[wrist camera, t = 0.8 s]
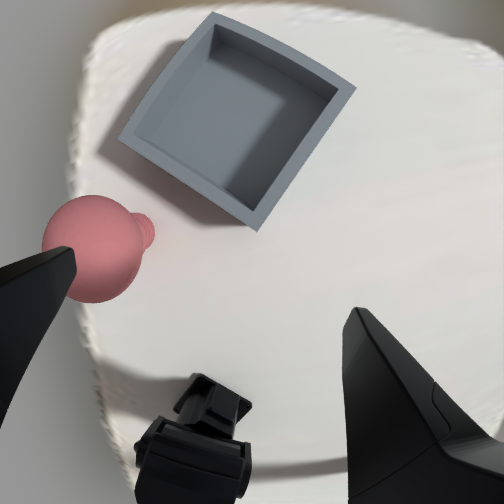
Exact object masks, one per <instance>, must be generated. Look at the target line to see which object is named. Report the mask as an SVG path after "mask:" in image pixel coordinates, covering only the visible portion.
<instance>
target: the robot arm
mask: <svg viewBox="0 0 504 504" xmlns="http://www.w3.org/2000/svg"><path fill="white" fill-rule="evenodd" d="M76 274H77V265H76V258H75V252H74V250H73V248H71V247H68V246H59V247H56V248H53V249H51V250H48V251H45V252H42V253H39V254H36V255H33V256H31V257H28V258H25V259H22V260H20V261H17V262H14V263H12V264H9V265H6V266H4V267H1V268H0V428H1V425H2V423H3V420H4V417H5V415H6V413H7V409H8V408H9V405H10V403H11V401H12V398H13V396H14V394H15V392H16V390H17V387H18V385H19V383H20V381H21V379H22V377H23V375H24V373H25V371H26V369H27V367H28V365H29V363H30V361H31V359H32V357H33V355H34V353H35V351H36V350H37V348H38V346H39V344H40V342H41V340H42V339H43V337H44V335H45V333H46V331H47V329H48V328H49V326H50V324H51V323H52V321H53V319H54V318H55V316H56V314H57V312H58V311H59V309H60V307H61V305H62V303H63V301H64V299H65V296H66V294H67V292H68V290H69V288H70V286H71V285H72V283H73V281H74V279H75V277H76ZM200 379H203V380H200ZM342 381H343V392H344V405H345V419H346V436H347V459H348V498H349V499H348V504H504V443H503V442H500V441H497V440H495V439H493V438H492V437H490V436H489V435H488V434H487V433H486V432H485V431H484V430H483V429H482V428H481V427H480V426H479V425H478V424H477V423H476V422H475V421H474V420H473V419H471V418H470V417H469V416H468V415H467V414H466V413H465V412H464V411H463V410H462V409H461V408H460V407H459V406H458V405H457V404H456V403H455V402H454V401H453V400H452V399H451V398H450V397H449V396H448V394H447V393H446V392H445V391H444V390H443V389H442V388H441V387H440V386H439V385H438V383H437V382H434V379H433V378H432V377H431V376H430V375H429V374H428V373H427V371H426V370H425V369H424V368H423V367H422V366H421V365H420V364H419V363H418V362H417V361H416V360H415V358H414V357H413V356H412V355H411V354H410V353H409V352H408V351H407V350H406V349H405V348H404V347H403V346H402V345H401V344H400V342H399V341H398V340H397V339H396V338H395V337H394V336H393V335H392V334H391V333H390V332H389V331H388V330H387V329H386V328H385V327H384V326H383V325H382V324H381V323H380V322H379V321H378V320H377V319H376V318H375V316H374V315H373V314H372V313H371V312H370V311H369V310H368V309H366V308H360V307H354V308H353V309H352V311H351V313H350V315H349V317H348V319H347V321H346V323H345V325H344V328H343V346H342ZM246 405H249V406H246ZM177 408H178V409H179V410H178V409H177ZM251 408H252V403H251V402H250V401H248V400H246V399H244V398H243V397H241V396H239V395H238V394H236V393H234V392H233V391H231V390H229V389H227V388H226V387H224V386H222V385H220V384H218V383H216V382H215V381H213V380H211V379H210V378H208V377H206V376H205V375H202V374H200V375H198V376H197V378H196V379H195V380H194V381H193V383H192V384H191V385H190V387H189V388H188V389H187V390H186V392H185V393H184V394H183V396H182V397H181V398H180V399H179V401H178V402H177V403H176V405H175V406H174V408H173V410H174V412H176V413H177V414H179V416H178V418H177V421H176V422H173V421H170V420H167V419H165V417H162V416H159V417H158V418H157V419H156V420H154V421H153V423H152V424H151V425H150V427H149V428H148V429H147V431H146V432H145V433H144V435H143V436H142V437H141V439H140V440H139V441H137V442H136V443H135V444H134V450H135V452H136V467H137V468H140V472H139V476H138V479H137V482H136V485H135V497H136V501H137V503H138V504H234V503H235V500H236V498H240V499H241V498H242V497H243V496H244V494H245V492H246V489H247V486H248V483H249V480H250V475H251V469H252V459H251V443H248V442H240V441H236V440H233V437H234V431H235V426H236V424H237V423H238V422H239V421H240V420H241V419H242V418H243V417H244V416H245V415H246V414H247V413H248V412H249V411H250V410H251Z"/></svg>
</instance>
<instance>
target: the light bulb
mask: <svg viewBox="0 0 504 504" xmlns="http://www.w3.org/2000/svg"><path fill="white" fill-rule="evenodd" d="M154 236H155V230H154V226H153V223H152V222H151V220H150V219H149V218H148V217H147V216H145V215H143V214H140V213H129V211H128V210H127V209H126V208H125V207H123V206H122V205H121V204H119V203H118V202H116V201H114V200H112V199H110V198H107V197H103V196H99V195H87V196H81V197H78V198H75V199H73V200H71V201H69V202H67V203H66V204H64V205H63V206H62V207H61V208H60V209H58V210H57V212H56V213H55V214H54V215H53V217H52V218H51V219H50V221H49V223H48V225H47V227H46V229H45V233H44V236H43V242H42V252H45V251H48V250H51V249H53V248H56V247H59V246H68V247H71V248H73V250H74V252H75V258H76V265H77V274H76V277H75V279H74V281H73V283H72V285H71V286H70V288H69V290H68V292H67V294H66V296H68V297H70V298H72V299H74V300H76V301H79V302H84V303H101V302H105V301H108V300H111V299H113V298H115V297H116V296H118V295H120V294H121V293H122V292H123V291H125V290H126V289H127V288H128V287H129V285H130V284H131V283H132V282H133V280H134V279H135V277H136V275H137V273H138V271H139V268H140V265H141V260H142V255H143V253H144V251H145V249H147V248H148V247H149V246H150V245H151V243H152V242H153V240H154Z"/></svg>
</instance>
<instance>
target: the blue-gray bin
mask: <svg viewBox="0 0 504 504" xmlns="http://www.w3.org/2000/svg"><path fill="white" fill-rule="evenodd" d="M356 88H357V87H355V86H354V85H352V84H351V83H349V82H348V81H346V80H345V79H343V78H342V77H340V76H339V75H337V74H336V73H334V72H333V71H331V70H329V69H328V68H326V67H325V66H323V65H321V64H320V63H318V62H316V61H315V60H313V59H311V58H310V57H308V56H306V55H304V54H303V53H301V52H299V51H297V50H295V49H294V48H292V47H290V46H288V45H286V44H284V43H282V42H280V41H278V40H276V39H274V38H272V37H270V36H268V35H266V34H264V33H262V32H260V31H258V30H256V29H254V28H251V27H249V26H247V25H245V24H242V23H240V22H238V21H235V20H233V19H231V18H228V17H226V16H223V15H221V14H218V13H215V12H213V11H212V12H211V14H210V15H209V16H208V17H207V18H206V19H205V20H204V21H203V22H202V23H201V24H200V26H199V27H198V28H197V29H196V30H195V31H194V32H193V34H192V35H191V36H190V37H189V38H188V39H187V41H186V42H185V43H184V44H183V45H182V47H181V48H180V49H179V50H178V52H177V53H176V54H175V55H174V57H173V58H172V59H171V60H170V62H169V63H168V64H167V66H166V67H165V68H164V70H163V71H162V72H161V74H160V75H159V76H158V78H157V79H156V80H155V82H154V83H153V85H152V86H151V87H150V89H149V90H148V92H147V93H146V95H145V96H144V98H143V99H142V100H141V102H140V103H139V105H138V106H137V108H136V110H135V111H134V113H133V114H132V116H131V117H130V119H129V121H128V122H127V124H126V125H125V127H124V129H123V130H122V132H121V134H120V135H119V137H118V139H117V140H119V141H120V142H122V143H123V144H125V145H126V146H128V147H129V148H131V149H133V150H134V151H136V152H137V153H139V154H140V155H142V156H143V157H145V158H146V159H148V160H150V161H151V162H153V163H154V164H156V165H157V166H159V167H160V168H162V169H163V170H165V171H166V172H168V173H169V174H171V175H173V176H174V177H176V178H177V179H179V180H180V181H182V182H183V183H185V184H186V185H188V186H189V187H191V188H192V189H194V190H195V191H197V192H198V193H200V194H201V195H203V196H204V197H206V198H207V199H209V200H210V201H212V202H213V203H215V204H216V205H218V206H219V207H221V208H222V209H224V210H225V211H227V212H228V213H230V214H231V215H233V216H234V217H236V218H237V219H239V220H240V221H242V222H243V223H245V224H246V225H247V226H249V227H250V228H252V229H253V230H255V231H256V232H257V231H258V230H259V228H260V227H261V226H262V224H263V223H264V221H265V220H266V218H267V217H268V215H269V214H270V212H271V211H272V210H273V208H274V207H275V205H276V204H277V202H278V201H279V199H280V198H281V196H282V195H283V194H284V192H285V191H286V189H287V188H288V186H289V185H290V183H291V182H292V180H293V179H294V178H295V176H296V175H297V173H298V172H299V170H300V169H301V167H302V166H303V165H304V163H305V162H306V160H307V159H308V157H309V156H310V154H311V153H312V152H313V150H314V149H315V147H316V146H317V144H318V143H319V141H320V140H321V139H322V137H323V136H324V134H325V133H326V131H327V130H328V129H329V127H330V126H331V124H332V123H333V121H334V120H335V118H336V117H337V116H338V114H339V113H340V111H341V110H342V108H343V107H344V106H345V104H346V103H347V101H348V100H349V98H350V97H351V96H352V94H353V93H354V91H355V90H356Z"/></svg>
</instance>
